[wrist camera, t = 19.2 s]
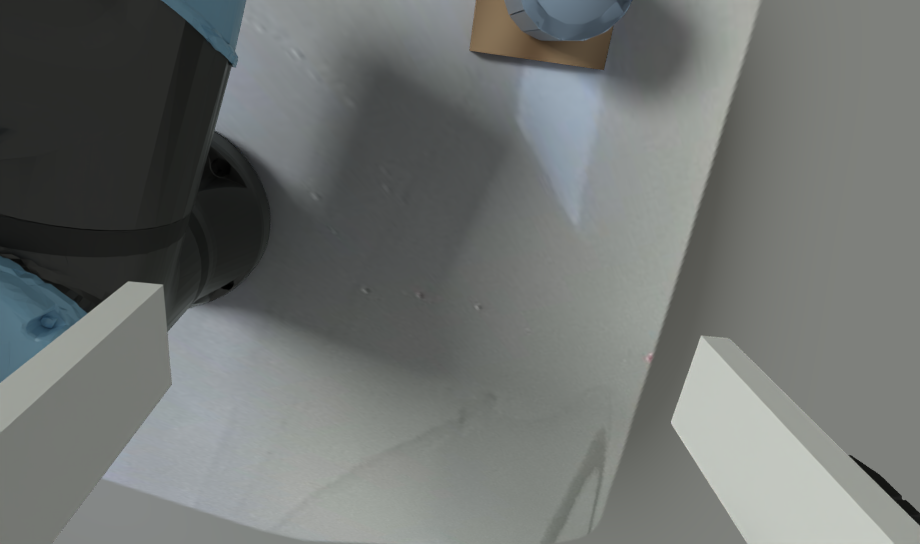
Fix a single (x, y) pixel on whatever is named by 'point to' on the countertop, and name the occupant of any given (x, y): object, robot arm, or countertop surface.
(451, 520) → the countertop surface
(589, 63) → the wooden square stand
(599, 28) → the cap
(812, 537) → the robot arm
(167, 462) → the countertop surface
